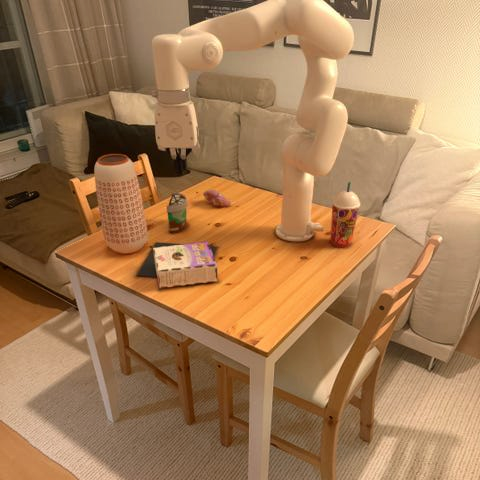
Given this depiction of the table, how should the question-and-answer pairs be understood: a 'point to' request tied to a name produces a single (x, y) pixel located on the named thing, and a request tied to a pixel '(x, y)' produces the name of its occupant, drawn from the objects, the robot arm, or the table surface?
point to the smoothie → (344, 217)
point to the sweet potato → (216, 198)
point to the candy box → (185, 264)
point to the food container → (177, 212)
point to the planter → (120, 204)
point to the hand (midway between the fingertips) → (181, 172)
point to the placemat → (149, 264)
